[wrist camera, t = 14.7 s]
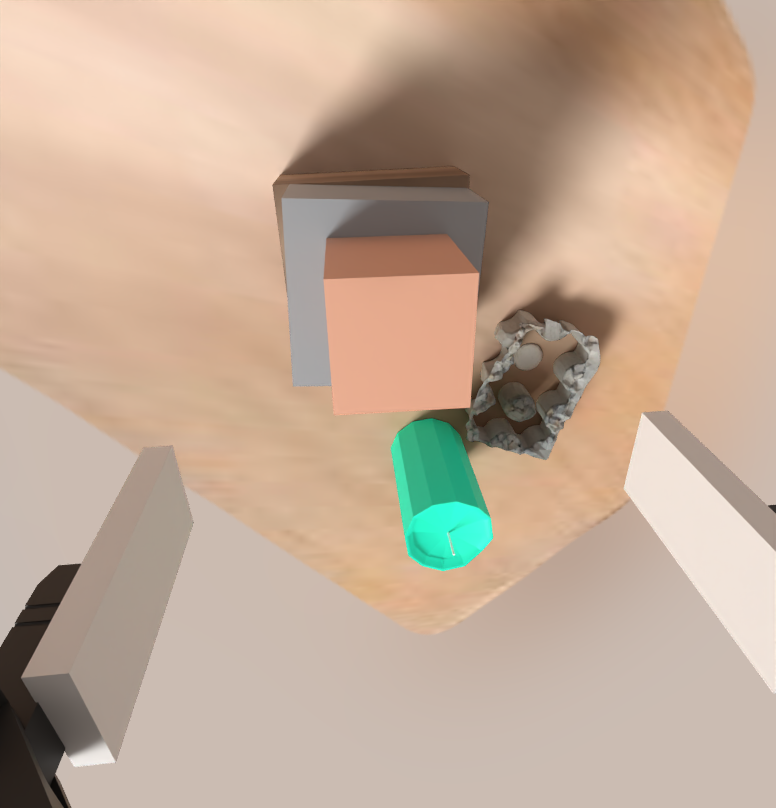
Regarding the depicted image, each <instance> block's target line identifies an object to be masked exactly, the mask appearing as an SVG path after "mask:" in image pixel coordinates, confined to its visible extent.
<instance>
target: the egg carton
mask: <svg viewBox="0 0 776 808" xmlns="http://www.w3.org/2000/svg"><path fill="white" fill-rule="evenodd" d="M531 330H536V331H537V332H538V333H539V335H540V336H541V337H543V338H544V339H545V340H548V341H555V340H560V339H562V338H563V337H565V336H566V335H567V334H570V333H571V334H572V336H573V337H574V338H575V339H576V340H577V341H578V345H577V347H576V349H575V351H574V352H566V353H564V354H562V355H560V356H559V357H558V358H557V359H556V360H555V362H554V364H553V372H554V374H555V375H556V377H557V378H558V379H559V380H560V383H559V385H558V387H557V389H556V390H550V391H547V392H545V393H543V394H541V395H540V397H539V398H538V400H537V402H536V408H537V411H538V412H539V414H540V415H541V417H542V418H543V420H542V422H541V424H540V425H535V426H530V427H528V428H527V429H525V430H524V431H523V432H522V434H517V433H515V432H514V430H513V428H512V426H511V425H510V423H509V422H508V421H507V420H506V419H504V418H494V419H492V420H490V421H489V422H488V423H487V424H486V425H485V426H484V427H480V426H476V424H475V421H474V419H473V415H478V414H479V413H481V412H485V411H486V410H487V409H488V408H489V407H490V406H492V405H495V403H496V399H495V397H494V394H493V391H492V389H491V387H490V385H489V384H488V382H493V381H497V380H500V379H502V377H503V373H505V372H506V371H508V370H509V367H510V366H511V365H512V364H515V366H516V367H517V368H518V369H521V370H531V369H533V368H535V367H537V365H538V364H539V363H540V362H541V360H542V357H543V353H542V350H541V349H540V347H539V346H538V345H536V344H534V343H528V344H524V345H522V346H521V343H522V340H523V337H524V336H525V334H526V333H527V332H528V331H531ZM494 334H495V338H496V339H497V340H498V341H499V343H500V344H502V350H501V353H500V354H499V356H497V357H496V358H495V359H494V360H492V361H488V362H483V363H482V369H481V372H480V375H481V380H482V381H483V384H482V386H481V388H480V389H479V391H478V394H477V397H476V398H475V399H471V403H470V408H465V411H466V412H467V413H468V415H469V421H468V422H467V423H466V429H467V431H468V432H467V437H466V439H467V440H468V441H471V442H474V441H479V442H482V443H485V444H486V445H488V446H489V447H498V448H501V449H504V450H506V451H512V452H515V453H518V454H520V455H521V454H523V453H525V454H528V455H530V456H533V457H536V458H540V459H544V460H547V459H548V457H549V455H550V452H551V450H552V448H553V446H554V443H555V442H556V439H557V435H558V433H559V431H560V430H561V429H563V427H564V422H565V421H566V420H568V419H570V418H571V416H572V413H573V410H574V408H575V406H576V404H577V402H578V401H579V399H580V398H581V396H582V393H583V391H584V388H585V387H586V386H587V384H588V383H589V381H590V380H591V378H592V377H593V376H594V374H595V373H596V372H597V370H598V367H599V365H600V351H599V343H598V339H597V338H596V337H595V336H584V334H583V333H581V332H580V331H579V330H578V329H577V328H576V327H575V326H574V325H573V324H571V323H568V322H565V321H563V320H559V321H558V323H557V322H554V321H552V320H549V319H545V318H544V324H542V323H539V322H538V321H537V320H536V319H535V318H534V316H532V315H531V314H530V313H529V312H525V311H522V310H519V311H518V312H517V313H516V314H515V315H514V316H513V317H512V318H511V319H509V320H507V321H501V322H500V323H499V324H498V325H497V327H496V330H495V333H494ZM520 346H521V347H520ZM513 355H514V356H513ZM498 401H499V403H500V405H501V406H502V408H503V410H504V412H505V414H506V415H507V417H509V418H511V419H512V420H515V421H517V422H522V421H524V420H528V419H530V418H532V417H533V416H534V415H535V414H536V408H535V403H534V400H533V399H532V397H531V396H530V394H529V393H528V391H527V390H526V388H525V387H524V386H523V385H522V384H521V383H518V382H509V383H507V384H505V385H504V386H503V387H502V388H501V389H500V390H499V393H498Z"/></svg>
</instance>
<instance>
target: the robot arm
mask: <svg viewBox="0 0 776 808" xmlns="http://www.w3.org/2000/svg"><path fill="white" fill-rule="evenodd" d="M624 490H625V491H626V492H627V494H628V495H629V497H630V498H631V499H632V501H633V502H634V503H635V505H636V506H637V508H638V509H639V510H640V512H641V513H642V514H643V516H644V517H645V518H646V520H647V521H648V523H649V524H650V525H651V527H652V528H653V529H654V531H655V532H656V534H657V535H658V536H659V537H660V539H661V540H662V542H663V543H664V544H665V546H666V547H667V549H668V550H669V551H670V553H671V554H672V555H673V557H674V558H675V559H676V561H677V562H678V564H679V565H680V566H681V568H682V569H683V570H684V572H685V573H686V575H687V576H688V577H689V579H690V580H691V581H692V583H693V584H694V586H695V587H696V588H697V590H698V591H699V592H700V594H701V595H702V596H703V598H704V599H705V601H706V602H707V603H708V605H709V606H710V607H711V609H712V610H713V611H714V613H715V614H716V616H717V617H718V618H719V620H720V621H721V622H722V624H723V625H724V627H725V628H726V629H727V631H728V632H729V633H730V635H731V636H732V638H733V639H734V640H735V642H736V643H737V644H738V646H739V647H740V648H741V650H742V651H743V652H744V654H745V655H746V657H747V658H748V659H749V661H750V662H751V663H752V665H753V666H754V667H755V669H756V670H757V672H758V673H759V674H760V676H761V677H762V679H763V680H764V681H765V683H766V684H767V685H768V687H769V688H770V689H771V691H772V692H773V693H776V505H769V506H767V505H766V504H765V503H764V502H763V501H762V500H761V499H760V498H759V497H758V496H757V495H756V494H755V493H754V492H753V491H752V490H751V489H749V488H748V487H747V486H746V485H745V484H744V483H743V482H742V481H741V480H740V479H739V478H738V477H737V476H736V475H735V474H734V473H733V472H732V471H731V470H730V469H729V468H727V467H726V466H725V465H724V464H723V463H722V462H721V461H720V460H719V459H718V458H717V457H716V456H715V455H714V454H713V453H712V452H711V451H710V450H709V449H708V448H707V447H705V446H704V445H703V444H702V443H701V442H700V441H699V440H698V439H697V438H696V437H695V436H694V435H693V434H692V433H691V432H690V431H688V430H687V428H685V426H683V425H682V424H681V423H680V422H679V421H678V420H677V419H676V418H675V417H674V416H673V415H672V414H671V413H670V412H669V411H657V412H643V413H642V415H641V419H640V423H639V428H638V432H637V436H636V440H635V444H634V448H633V452H632V456H631V460H630V465H629V469H628V473H627V477H626V481H625V485H624ZM193 523H194V522H193V519H192V515H191V512H190V508H189V504H188V501H187V497H186V493H185V489H184V486H183V482H182V478H181V475H180V471H179V467H178V464H177V460H176V457H175V453H174V449H173V446H159V447H145V448H143V449H142V451H141V453H140V455H139V457H138V459H137V461H136V463H135V464H134V467H133V468H132V470H131V472H130V474H129V476H128V478H127V479H126V481H125V483H124V485H123V487H122V489H121V491H120V493H119V495H118V496H117V498H116V500H115V502H114V504H113V506H112V508H111V509H110V511H109V513H108V515H107V517H106V519H105V521H104V523H103V525H102V526H101V529H100V530H99V532H98V534H97V536H96V538H95V540H94V541H93V543H92V545H91V547H90V549H89V551H88V553H87V555H86V556H85V558H84V560H83V562H82V564H71V565H59V566H57V567H56V568H55V569H54V570H53V571H52V572H51V573H50V574H49V575H48V576H47V577H45V578H44V579H43V580H42V581H41V582H40V583H39V584H38V585H37V587H36V588H35V590H34V592H33V593H32V595H31V597H30V598H29V600H28V602H27V603H26V605H25V606H26V607H25V610H22V612H21V613H20V615H19V617H18V619H17V620H16V622H15V627H12V629H11V630H10V632H9V634H8V635H7V637H6V639H5V640H4V642H3V644H2V645H1V647H0V808H71V806H70V804H69V802H68V799H67V797H66V794H65V792H64V790H63V787H62V785H61V783H60V781H59V779H58V778H57V776H56V774H55V773H56V770H57V768H58V765H59V763H60V761H61V758H62V756H63V753H64V751H65V752H66V754H67V756H68V757H69V759H70V761H71V762H72V764H73V766H74V767H78V766H87V765H97V764H107V763H116V761H117V758H118V754H119V751H120V748H121V745H122V742H123V739H124V736H125V732H126V730H127V726H128V723H129V720H130V717H131V714H132V711H133V708H134V705H135V702H136V699H137V696H138V693H139V690H140V687H141V683H142V680H143V677H144V674H145V671H146V668H147V665H148V662H149V659H150V655H151V653H152V649H153V646H154V643H155V640H156V637H157V634H158V631H159V628H160V625H161V622H162V618H163V615H164V612H165V609H166V606H167V603H168V600H169V597H170V594H171V590H172V588H173V584H174V582H175V579H176V575H177V572H178V569H179V566H180V563H181V560H182V557H183V554H184V550H185V548H186V544H187V541H188V538H189V535H190V532H191V529H192V526H193Z"/></svg>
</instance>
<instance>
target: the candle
mask: <svg viewBox="0 0 776 808" xmlns="http://www.w3.org/2000/svg"><path fill="white" fill-rule="evenodd" d="M391 452H392V458H393V465H394V471H395V477H396V484H397V490H398V497H399V503H400V509H401V516H402V522H403V528H404V535H405V540H406V545H407V551H408V556H410V557H411V558H412V559H414V560H415V561H416V562H418V563H419V564H420V565H422V566H425V567H429V568H433V569H437V570H441V571H445V570H450V569H454V568H459V567H463V566H466V565H467V564H468V563H469V562H470V561H471V560H472V559H474V558H475V557H476V556H477V555H478V554H479V553H480V552H481V551H482V550H483V549H484V548H485V547H486V546H487V545H488V544H489V542H490V541H491V540H492V539H493V533H492V525H491V518H490V515H489V512H488V510H487V507H486V504H485V501H484V499H483V496H482V493H481V491H480V488H479V485H478V482H477V480H476V477H475V474H474V472H473V469H472V466H471V463H470V461H469V458H468V455H467V452H466V450H465V447H464V444H463V442H462V439H461V436H460V434H459V433H458V432H457V431H456V430H455V429H454V428H453V427H452V426H451V425H450V424H449V423H447V422H443V421H440V420H437V419H433V418H429V419H424V420H418V421H413V422H411V423H410V424H409V425H407V426H406V427H405V428H403V429H402V430H400V431H399V432H398V433H397V435H396V437H395V440H394V442H393V444H392V446H391Z"/></svg>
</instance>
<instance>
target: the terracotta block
mask: <svg viewBox="0 0 776 808" xmlns="http://www.w3.org/2000/svg"><path fill="white" fill-rule="evenodd" d="M323 280H324V293H325V306H326V319H327V332H328V346H329V359H330V372H331V385H332V398H333V411H334V415H348V414H366V413H383V412H401V411H419V410H436V409H454V408H470V403H471V388H472V373H473V358H474V344H475V329H476V314H477V299H478V284H479V272H478V271H477V270H476V269H475V267H474V266H473V265H472V264H471V262H470V261H469V260H468V259H467V258H466V256H465V255H464V254H463V253H462V251H461V250H460V249H459V248H458V247H457V245H456V244H455V243H454V242H453V241H452V239H451V238H450V237H449V236H448V234H429V235H401V236H373V237H345V238H326V250H325V264H324V278H323Z"/></svg>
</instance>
